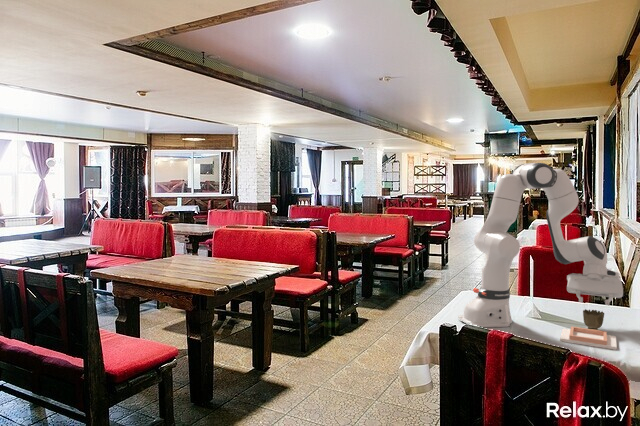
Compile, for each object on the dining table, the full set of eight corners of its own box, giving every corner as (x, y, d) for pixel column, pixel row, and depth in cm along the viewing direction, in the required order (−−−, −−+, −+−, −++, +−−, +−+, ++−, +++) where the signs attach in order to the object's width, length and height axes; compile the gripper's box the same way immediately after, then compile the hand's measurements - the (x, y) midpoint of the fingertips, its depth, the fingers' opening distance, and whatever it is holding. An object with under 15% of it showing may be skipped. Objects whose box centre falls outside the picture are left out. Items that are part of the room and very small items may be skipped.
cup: (584, 326, 189) (584, 307, 188) (604, 330, 184) (605, 311, 184) (580, 331, 183) (581, 312, 183) (601, 335, 179) (602, 315, 178)
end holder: (616, 349, 164) (616, 343, 164) (560, 341, 174) (560, 334, 173) (615, 338, 175) (615, 332, 175) (562, 330, 185) (562, 324, 184)
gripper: (567, 268, 199) (565, 296, 192) (623, 273, 189) (623, 302, 181) (567, 276, 204) (565, 303, 196) (622, 281, 193) (622, 310, 185)
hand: (593, 303), depth 189 cm, fingers open, 8 cm apart
